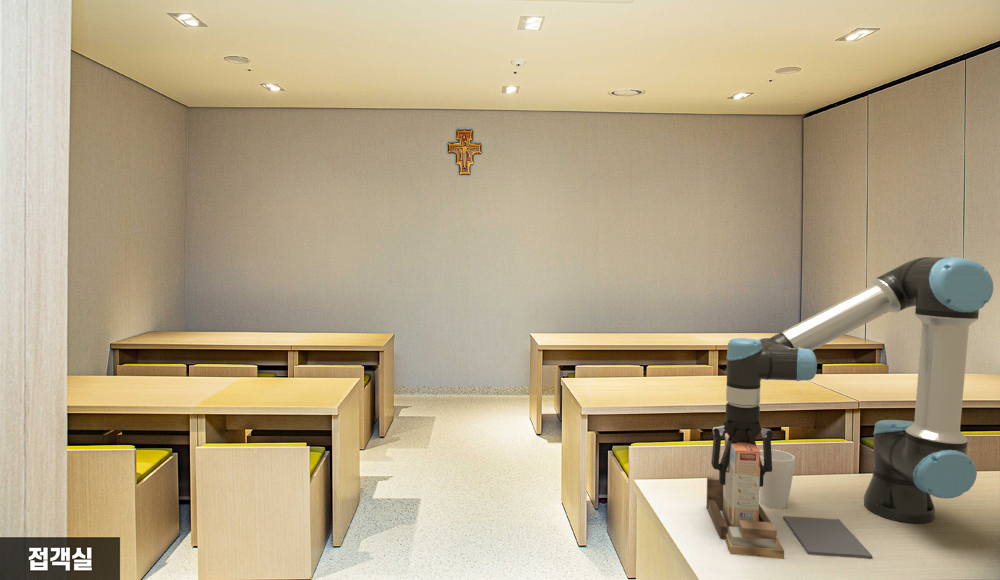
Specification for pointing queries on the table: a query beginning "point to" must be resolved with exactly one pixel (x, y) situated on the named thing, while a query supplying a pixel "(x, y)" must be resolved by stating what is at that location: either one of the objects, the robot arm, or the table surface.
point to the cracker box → (742, 483)
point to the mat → (826, 537)
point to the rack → (717, 505)
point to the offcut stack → (754, 540)
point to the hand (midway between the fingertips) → (740, 498)
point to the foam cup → (777, 480)
